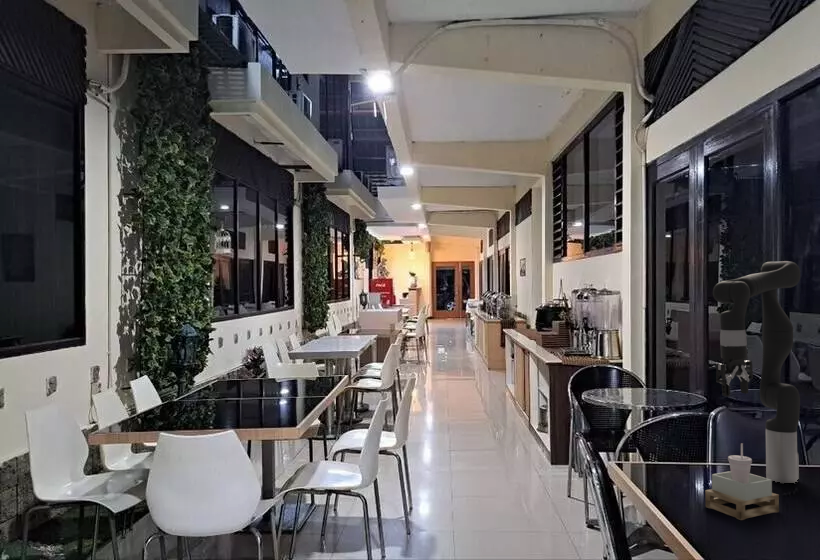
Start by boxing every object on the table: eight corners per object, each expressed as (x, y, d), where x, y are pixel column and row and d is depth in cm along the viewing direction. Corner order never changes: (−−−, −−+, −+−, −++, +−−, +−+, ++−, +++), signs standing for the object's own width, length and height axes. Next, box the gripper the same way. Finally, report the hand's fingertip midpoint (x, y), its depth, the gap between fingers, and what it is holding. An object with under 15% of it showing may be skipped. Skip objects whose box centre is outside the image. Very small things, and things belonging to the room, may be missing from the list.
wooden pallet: (742, 499, 194) (742, 483, 194) (778, 511, 183) (778, 494, 183) (705, 506, 187) (705, 490, 187) (741, 520, 176) (741, 502, 177)
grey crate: (737, 484, 193) (737, 469, 193) (771, 495, 182) (771, 479, 183) (712, 489, 188) (712, 474, 188) (745, 500, 178) (745, 484, 178)
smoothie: (755, 494, 181) (755, 446, 182) (731, 493, 183) (731, 445, 183) (748, 487, 188) (747, 441, 188) (725, 486, 189) (724, 440, 189)
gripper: (737, 341, 205) (739, 390, 205) (707, 344, 199) (709, 395, 198) (759, 343, 198) (761, 394, 198) (728, 346, 192) (730, 399, 192)
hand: (735, 394), depth 198 cm, fingers open, 8 cm apart
